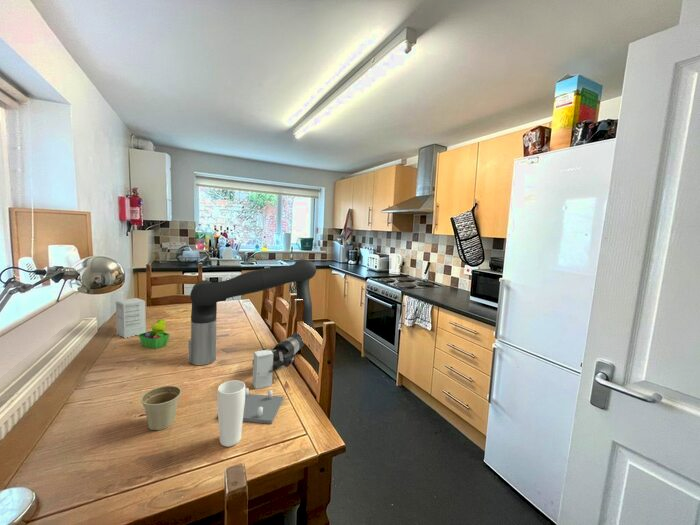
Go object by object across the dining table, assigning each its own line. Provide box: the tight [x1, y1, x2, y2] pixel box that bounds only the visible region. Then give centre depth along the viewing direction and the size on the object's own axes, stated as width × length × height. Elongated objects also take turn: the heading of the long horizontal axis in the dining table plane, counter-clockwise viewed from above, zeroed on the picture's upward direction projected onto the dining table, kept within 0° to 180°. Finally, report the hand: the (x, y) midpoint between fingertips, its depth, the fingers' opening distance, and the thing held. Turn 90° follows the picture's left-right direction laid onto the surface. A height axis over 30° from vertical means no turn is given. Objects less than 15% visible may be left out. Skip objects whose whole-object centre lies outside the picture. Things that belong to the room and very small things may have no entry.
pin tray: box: [243, 387, 284, 425], centre depth 89 cm, size 16×12×4 cm
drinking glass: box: [216, 379, 246, 448], centre depth 74 cm, size 7×7×15 cm
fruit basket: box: [137, 318, 171, 350], centre depth 130 cm, size 11×9×11 cm
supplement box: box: [115, 297, 147, 339], centre depth 140 cm, size 10×9×17 cm
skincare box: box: [252, 349, 274, 390], centre depth 102 cm, size 6×4×12 cm
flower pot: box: [140, 385, 182, 431], centre depth 79 cm, size 9×9×9 cm
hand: (263, 365), depth 102 cm, fingers open, 8 cm apart
